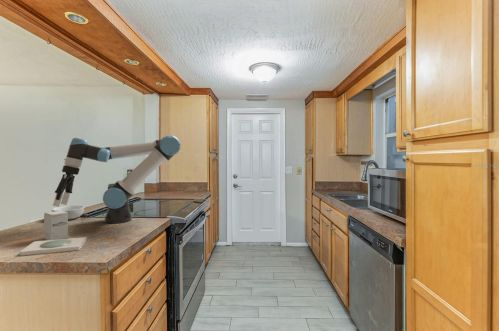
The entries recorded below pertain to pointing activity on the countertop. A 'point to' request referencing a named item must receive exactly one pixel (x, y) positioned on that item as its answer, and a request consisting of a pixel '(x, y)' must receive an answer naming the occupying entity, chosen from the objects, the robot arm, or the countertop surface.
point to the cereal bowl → (71, 211)
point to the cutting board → (53, 246)
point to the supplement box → (55, 225)
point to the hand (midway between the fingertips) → (59, 205)
